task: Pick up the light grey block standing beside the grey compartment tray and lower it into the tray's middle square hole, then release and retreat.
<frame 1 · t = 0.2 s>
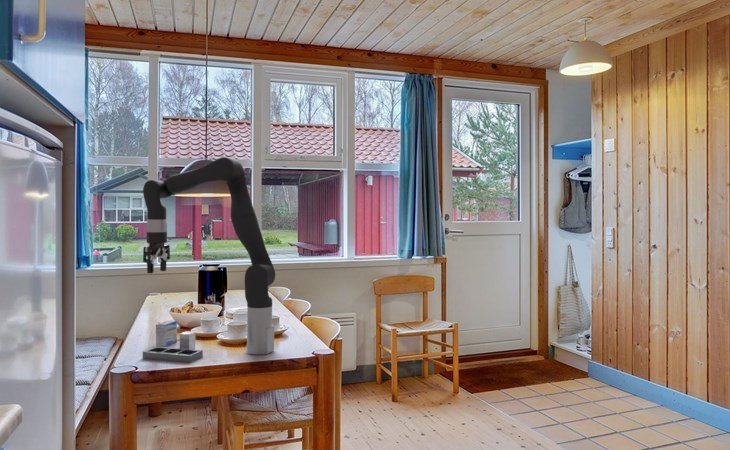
hand: (157, 272, 203), 28 cm above the table, tool pointing down, fingers open, 8 cm apart
medicine box: (166, 344, 203), on the table
light grey block: (187, 351, 192), on the table
grey compartment tray: (172, 357, 184), on the table
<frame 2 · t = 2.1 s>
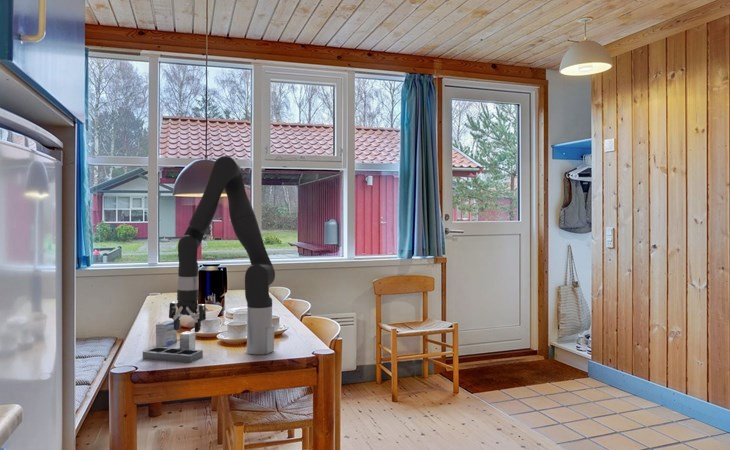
hand: (186, 330, 193), 8 cm above the table, tool pointing down, fingers open, 8 cm apart
nothing on the table moved.
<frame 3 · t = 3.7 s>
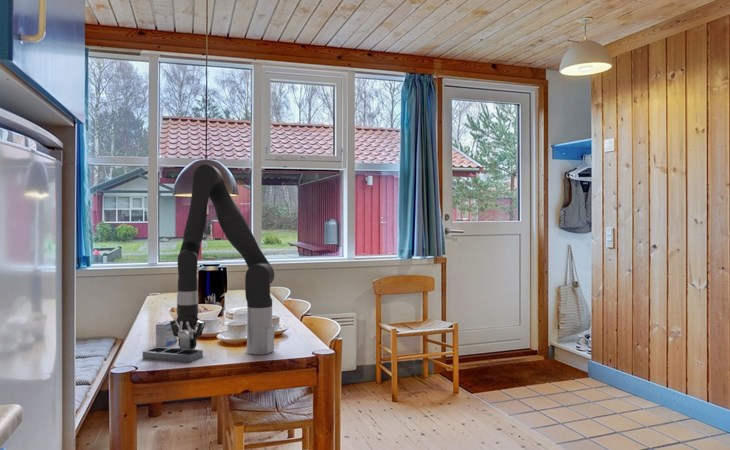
hand: (187, 347, 192), 1 cm above the table, tool pointing down, fingers closed on light grey block, 4 cm apart
light grey block: (187, 351, 192), on the table, touching gripper
everything else where it was.
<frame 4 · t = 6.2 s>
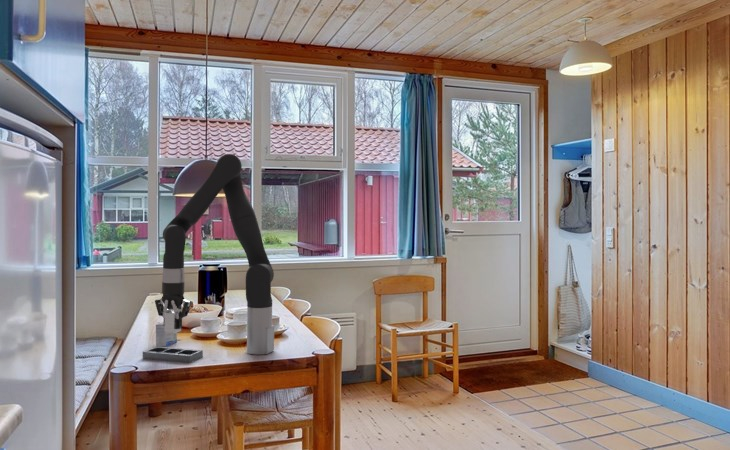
hand: (172, 328, 184), 11 cm above the table, tool pointing down, fingers closed on light grey block, 4 cm apart
light grey block: (172, 331, 184), point 9 cm above the table, touching gripper
everything else where it was.
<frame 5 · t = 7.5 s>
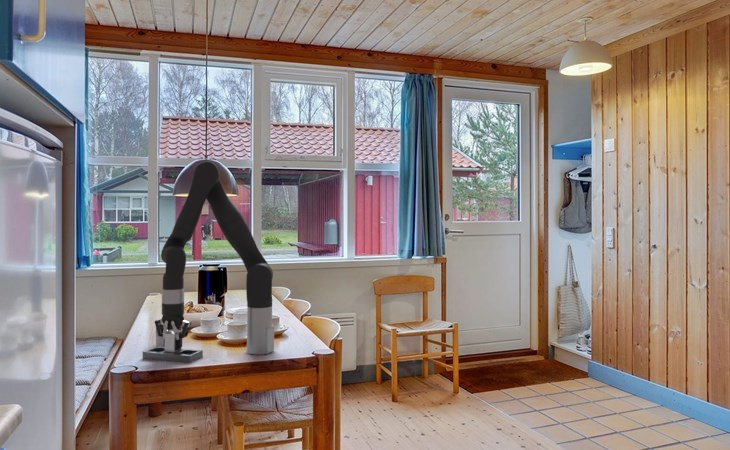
hand: (172, 348, 184), 3 cm above the table, tool pointing down, fingers closed on light grey block, 4 cm apart
light grey block: (172, 352, 184), point 2 cm above the table, touching gripper
everything else where it was.
when the fingers open (3 cm above the table, at t = 8.5 s): light grey block drops 2 cm, resting in grey compartment tray.
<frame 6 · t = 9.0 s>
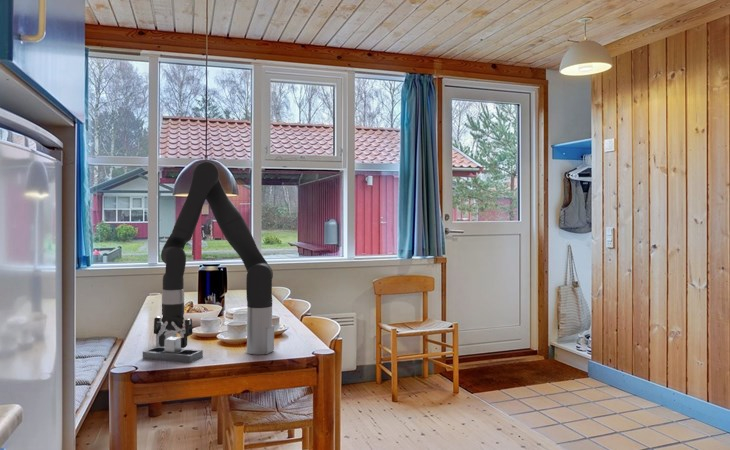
hand: (172, 346, 184), 4 cm above the table, tool pointing down, fingers open, 8 cm apart
light grey block: (172, 357, 184), resting in grey compartment tray
everything else where it was.
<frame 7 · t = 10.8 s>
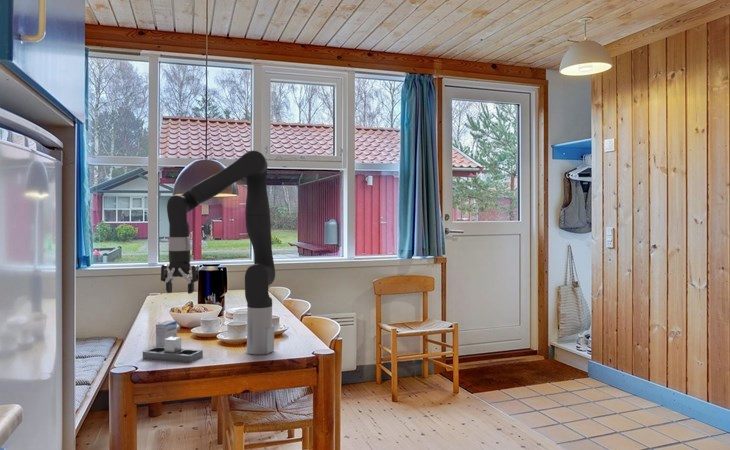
hand: (179, 293, 190), 22 cm above the table, tool pointing down, fingers open, 8 cm apart
nothing on the table moved.
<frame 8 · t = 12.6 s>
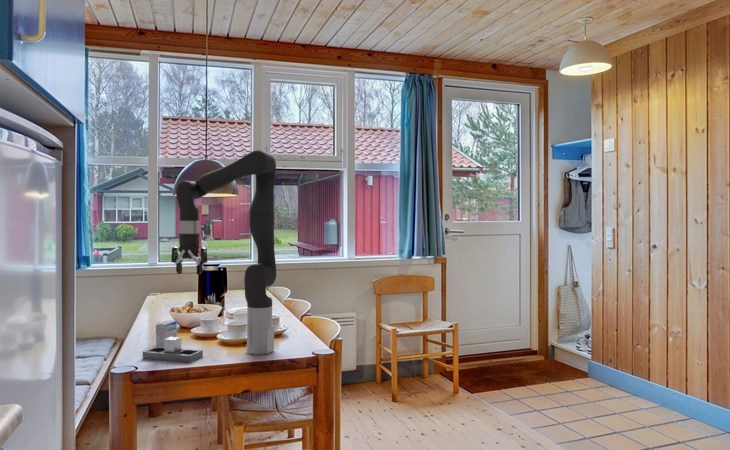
hand: (189, 274, 200), 28 cm above the table, tool pointing down, fingers open, 8 cm apart
nothing on the table moved.
at the end: light grey block 0.1 cm off-centre on the grey compartment tray, point 0.0 cm above the grey compartment tray's base; light grey block tilted 0°; the gripper is holding nothing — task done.
